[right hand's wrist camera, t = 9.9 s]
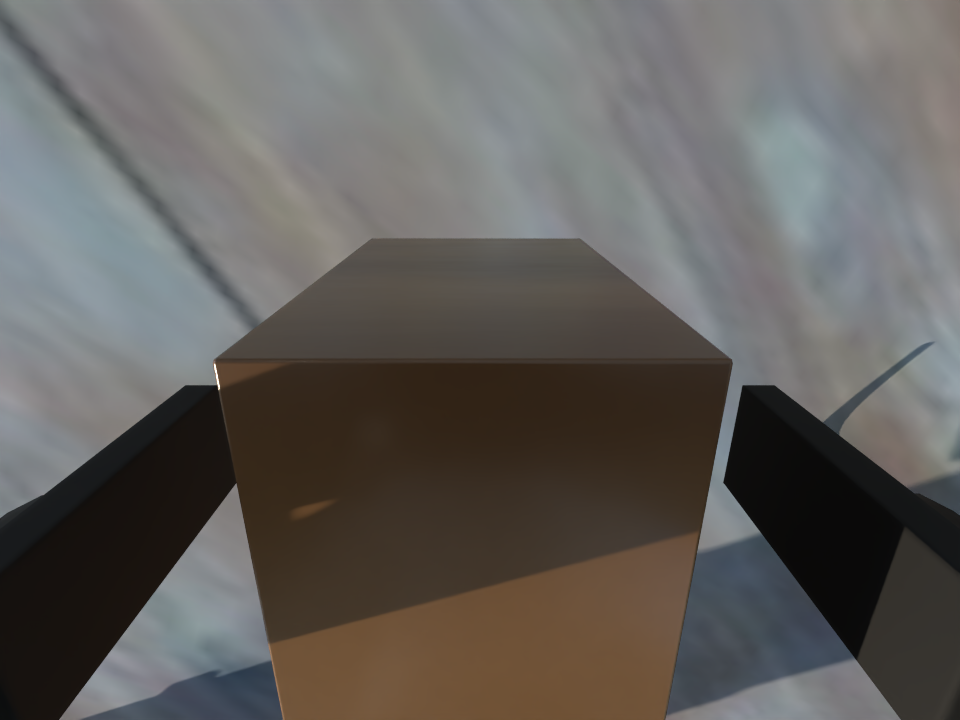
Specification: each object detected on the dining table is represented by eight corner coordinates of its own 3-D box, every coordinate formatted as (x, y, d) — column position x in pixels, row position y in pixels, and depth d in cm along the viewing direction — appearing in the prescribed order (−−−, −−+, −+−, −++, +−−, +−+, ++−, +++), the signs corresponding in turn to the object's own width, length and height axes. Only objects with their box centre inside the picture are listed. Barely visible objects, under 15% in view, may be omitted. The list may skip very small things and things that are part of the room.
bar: (370, 238, 14) (209, 360, 5) (581, 238, 14) (735, 360, 5) (411, 789, 22) (370, 1169, 14) (542, 788, 22) (581, 1167, 14)
